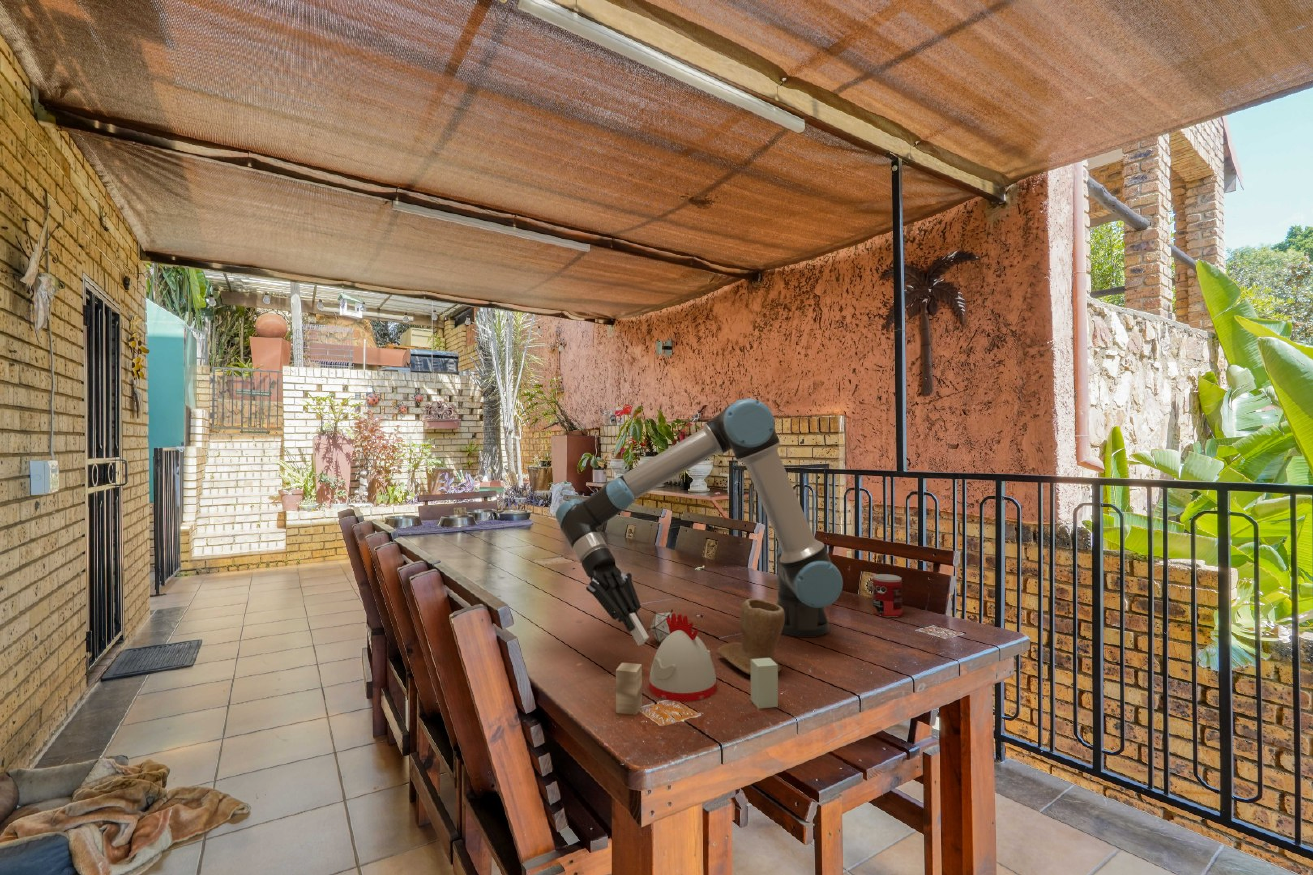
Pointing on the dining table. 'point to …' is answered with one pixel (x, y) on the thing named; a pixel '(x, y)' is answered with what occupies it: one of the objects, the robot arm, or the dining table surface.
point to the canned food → (887, 595)
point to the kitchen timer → (682, 665)
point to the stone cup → (755, 634)
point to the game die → (660, 626)
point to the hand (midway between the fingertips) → (643, 641)
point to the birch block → (628, 688)
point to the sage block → (764, 683)
